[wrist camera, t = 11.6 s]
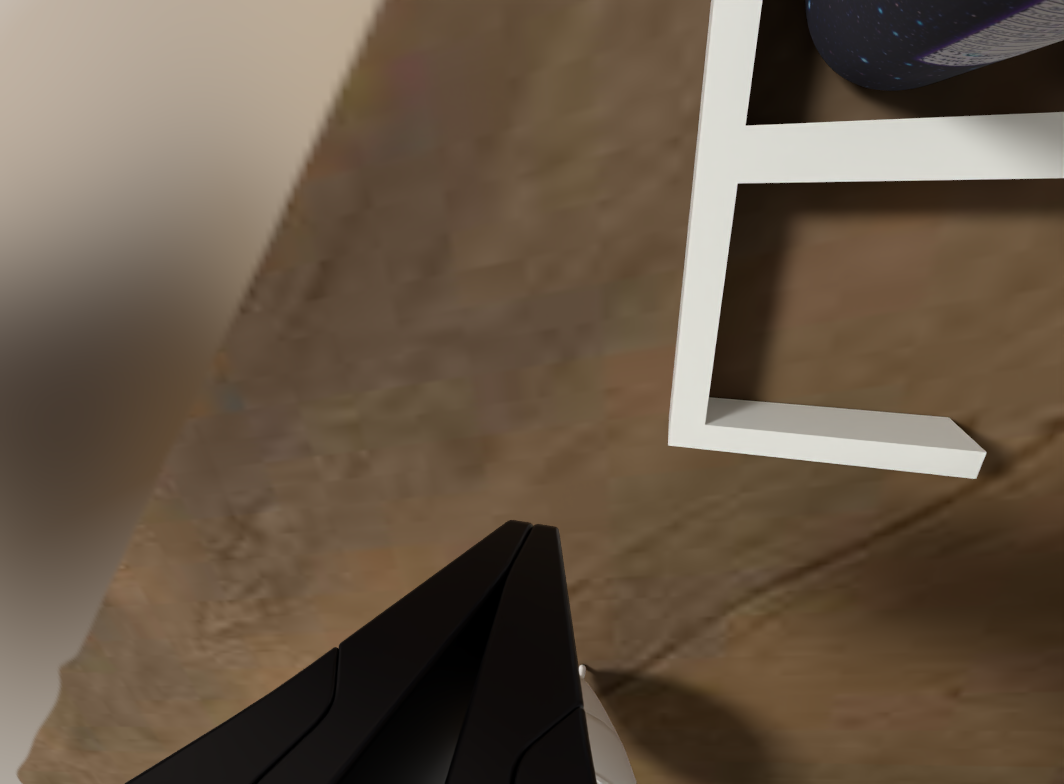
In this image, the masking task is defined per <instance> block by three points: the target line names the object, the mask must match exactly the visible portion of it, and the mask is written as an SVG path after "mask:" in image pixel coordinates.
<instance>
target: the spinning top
mask: <svg viewBox="0 0 1064 784" xmlns="http://www.w3.org/2000/svg"><path fill="white" fill-rule="evenodd" d="M585 672H586V667H585V665H580V666H579V674H580V681H581V687H582V694H583V701H584V710H585V713H586V720H587V727H588V734H589V741H590V747H591V752H592V758H593V764H594V769H595V775H596V780H597V784H637V783H636V779H635V776H634V773H633V771H632V768H631V765H630V762H629V759H628V757H627V754H626V751H625V749H624V746H623V744H622V742H621V740H620V738H619V736H618V734H617V732H616V730H615V728H614V726H613V724H612V722H611V720H610V718H609V716H608V715H607V713H606V711H605V709H604V707H603V706H602V704H601V702H600V701H599V699H598V697H597V696H596V694H595V693H594V691H593V690H592V688H591V687H590V685H589V684H588V683H587V682H586V681H585V680H584V677H585Z"/></svg>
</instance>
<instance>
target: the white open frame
mask: <svg viewBox="0 0 1064 784" xmlns="http://www.w3.org/2000/svg"><path fill="white" fill-rule="evenodd" d="M762 1H763V0H711V8H710V17H709V27H708V37H707V47H706V57H705V67H704V77H703V86H702V96H701V106H700V116H699V126H698V136H697V146H696V155H695V165H694V175H693V185H692V195H691V205H690V215H689V224H688V234H687V244H686V254H685V264H684V274H683V284H682V293H681V303H680V313H679V323H678V333H677V343H676V353H675V362H674V372H673V382H672V392H671V402H670V412H669V432H668V445H670V446H679V447H688V448H697V449H706V450H716V451H725V452H734V453H743V454H752V455H761V456H771V457H780V458H789V459H798V460H807V461H816V462H825V463H835V464H844V465H853V466H862V467H871V468H880V469H889V470H899V471H908V472H917V473H926V474H935V475H944V476H954V477H963V478H972V479H976V478H977V475H978V473H979V470H980V468H981V465H982V463H983V460H984V458H985V456H986V453H987V452H986V451H985V450H984V449H983V448H981V447H980V446H979V445H978V444H977V443H976V442H975V441H974V440H973V439H972V438H971V437H969V436H968V435H967V434H966V433H965V432H964V431H963V430H962V429H961V428H960V427H959V426H958V425H956V424H955V423H954V422H953V421H952V420H951V419H950V418H949V417H937V416H925V415H913V414H902V413H890V412H878V411H866V410H854V409H842V408H831V407H819V406H807V405H795V404H783V403H771V402H760V401H748V400H736V399H724V398H712V397H709V392H710V384H711V377H712V369H713V362H714V355H715V347H716V340H717V333H718V325H719V318H720V310H721V303H722V296H723V288H724V281H725V274H726V266H727V259H728V251H729V244H730V237H731V229H732V222H733V214H734V207H735V200H736V192H737V185H738V183H795V182H857V181H919V180H980V179H1042V178H1064V112H1051V113H1027V114H1004V115H981V116H958V117H934V118H911V119H888V120H865V121H841V122H818V123H795V124H772V125H749V126H746V119H747V111H748V104H749V96H750V89H751V82H752V74H753V67H754V60H755V52H756V45H757V37H758V30H759V23H760V15H761V8H762Z"/></svg>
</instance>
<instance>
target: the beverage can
mask: <svg viewBox="0 0 1064 784" xmlns="http://www.w3.org/2000/svg"><path fill="white" fill-rule="evenodd" d="M805 5H806V16H807V22H808V27H809V31H810V34H811V37H812V40H813V42H814V44H815V46H816V48H817V50H818V52H819V53H820V55H821V56H822V58H823V59H824V61H825V62H826V63H827V64H828V65H829V66H830V67H831V68H832V69H833V70H834V71H835V72H836V73H838V74H839V75H840V76H842V77H843V78H845V79H846V80H848V81H850V82H852V83H855V84H857V85H860V86H863V87H866V88H871V89H876V90H886V91H896V90H907V89H913V88H918V87H922V86H926V85H929V84H932V83H936V82H939V81H942V80H945V79H948V78H951V77H954V76H957V75H960V74H963V73H966V72H969V71H972V70H975V69H978V68H981V67H984V66H987V65H990V64H993V63H996V62H999V61H1002V60H1005V59H1008V58H1011V57H1014V56H1017V55H1020V54H1023V53H1026V52H1029V51H1032V50H1035V49H1038V48H1041V47H1044V46H1047V45H1050V44H1053V43H1056V42H1059V41H1063V40H1064V0H805Z"/></svg>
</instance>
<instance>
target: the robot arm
mask: <svg viewBox="0 0 1064 784" xmlns="http://www.w3.org/2000/svg"><path fill="white" fill-rule="evenodd" d="M125 784H597V780H596V775H595V769H594V764H593V758H592V752H591V747H590V741H589V734H588V727H587V720H586V713H585V710H584V701H583V694H582V687H581V681H580V674H579V667H578V660H577V653H576V646H575V639H574V632H573V625H572V618H571V611H570V604H569V597H568V590H567V583H566V576H565V569H564V562H563V555H562V548H561V541H560V534H559V530H558V528H557V527H554V526H548V525H542V524H536V525H534V526H533V525H532V524H531V523H529V522H522V521H516V520H510V521H507V522H506V523H504V524H503V525H502V526H500V527H499V528H498V529H496V530H495V531H494V532H492V533H491V534H489V535H488V536H487V537H485V538H484V539H483V540H481V541H480V542H478V543H477V544H476V545H474V546H473V547H472V548H470V549H469V550H467V551H466V552H465V553H463V554H462V555H461V556H459V557H458V558H456V559H455V560H454V561H452V562H451V563H450V564H448V565H447V566H445V567H444V568H443V569H441V570H440V571H439V572H437V573H436V574H435V575H433V576H432V577H430V578H429V579H428V580H426V581H425V582H424V583H422V584H421V585H419V586H418V587H417V588H415V589H414V590H413V591H411V592H410V593H408V594H407V595H406V596H404V597H403V598H402V599H400V600H399V601H397V602H396V603H395V604H393V605H392V606H391V607H389V608H388V609H386V610H385V611H384V612H382V613H381V614H380V615H378V616H377V617H376V618H374V619H373V620H371V621H370V622H369V623H367V624H366V625H365V626H363V627H362V628H360V629H359V630H358V631H356V632H355V633H354V634H352V635H351V636H349V637H348V638H347V639H345V640H344V641H343V642H341V643H340V644H339V649H338V648H336V647H335V648H333V649H331V650H330V651H329V652H327V653H326V654H324V655H323V656H322V657H320V658H319V659H318V660H316V661H315V662H313V663H312V664H311V665H309V666H308V667H306V668H305V669H304V670H302V671H301V672H299V673H298V674H296V675H295V676H293V677H292V678H291V679H289V680H288V681H286V682H285V683H283V684H282V685H281V686H279V687H278V688H276V689H275V690H273V691H272V692H270V693H269V694H267V695H266V696H264V697H263V698H261V699H259V700H258V701H256V702H255V703H253V704H252V705H250V706H249V707H247V708H245V709H244V710H242V711H241V712H239V713H238V714H236V715H235V716H233V717H231V718H230V719H228V720H227V721H225V722H224V723H222V724H220V725H219V726H217V727H215V728H214V729H212V730H211V731H209V732H207V733H206V734H204V735H202V736H201V737H199V738H198V739H196V740H194V741H193V742H191V743H190V744H188V745H186V746H185V747H183V748H181V749H180V750H178V751H177V752H175V753H173V754H172V755H170V756H168V757H167V758H165V759H164V760H162V761H160V762H159V763H157V764H156V765H154V766H152V767H151V768H149V769H147V770H146V771H144V772H143V773H141V774H139V775H138V776H136V777H134V778H133V779H131V780H130V781H128V782H126V783H125Z"/></svg>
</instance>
